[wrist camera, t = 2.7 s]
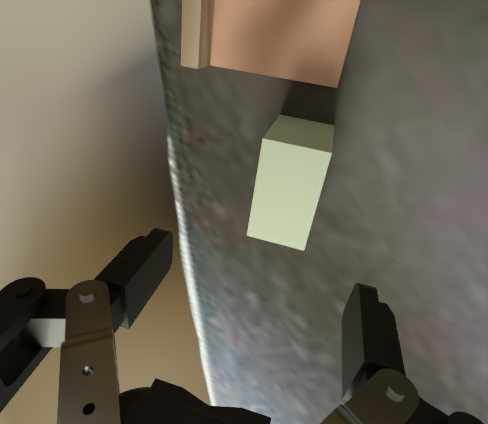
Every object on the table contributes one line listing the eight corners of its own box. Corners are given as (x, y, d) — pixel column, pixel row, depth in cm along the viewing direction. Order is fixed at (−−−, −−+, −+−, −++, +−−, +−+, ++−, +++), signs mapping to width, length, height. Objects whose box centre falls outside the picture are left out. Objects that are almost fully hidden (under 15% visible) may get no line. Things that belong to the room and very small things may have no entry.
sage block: (334, 125, 23) (331, 153, 18) (311, 208, 27) (304, 250, 22) (279, 114, 24) (262, 138, 19) (264, 197, 27) (246, 235, 22)
